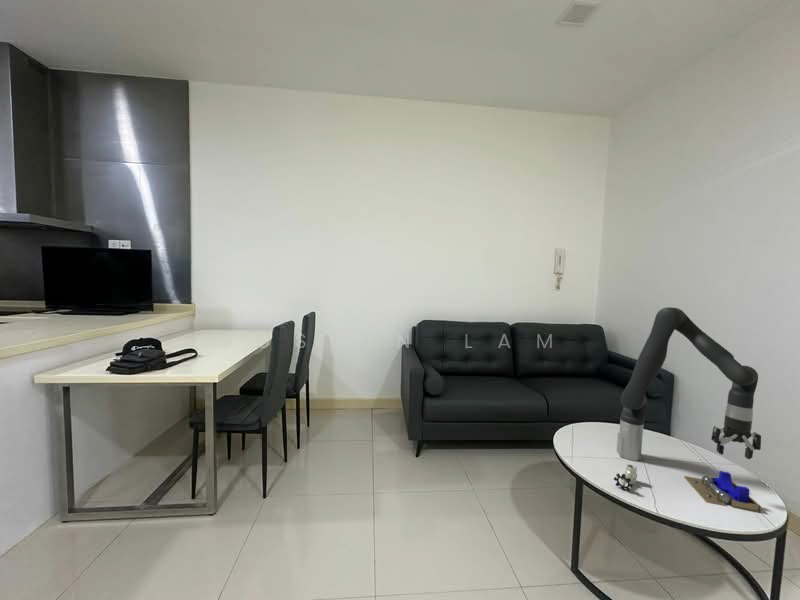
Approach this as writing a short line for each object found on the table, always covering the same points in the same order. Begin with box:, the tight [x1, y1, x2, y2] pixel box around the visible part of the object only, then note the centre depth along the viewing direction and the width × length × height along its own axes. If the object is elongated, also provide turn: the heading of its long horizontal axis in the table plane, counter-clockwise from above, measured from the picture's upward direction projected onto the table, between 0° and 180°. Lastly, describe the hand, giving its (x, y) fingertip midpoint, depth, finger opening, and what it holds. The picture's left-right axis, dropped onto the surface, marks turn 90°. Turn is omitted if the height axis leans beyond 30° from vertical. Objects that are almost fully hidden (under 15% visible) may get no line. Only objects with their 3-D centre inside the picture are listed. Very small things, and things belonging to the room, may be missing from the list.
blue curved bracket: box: [714, 470, 751, 503], centre depth 133 cm, size 12×4×6 cm, turn 164°
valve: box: [613, 464, 638, 492], centre depth 138 cm, size 7×7×12 cm
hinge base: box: [683, 475, 762, 513], centre depth 134 cm, size 16×17×3 cm
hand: (733, 455), depth 132 cm, fingers open, 8 cm apart
